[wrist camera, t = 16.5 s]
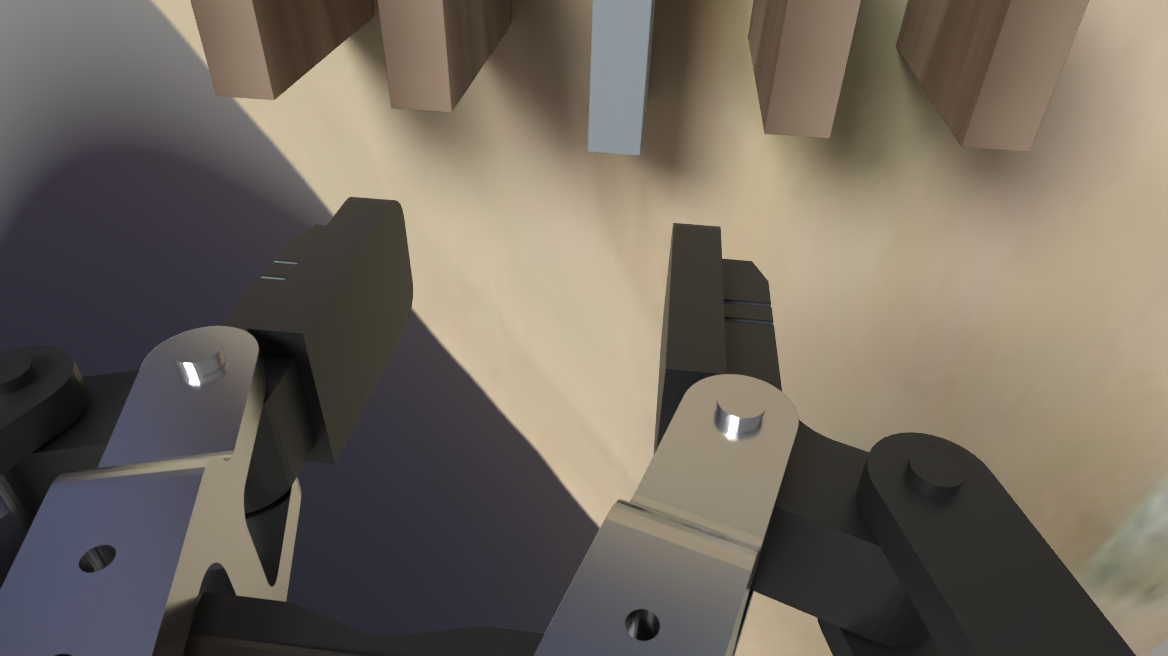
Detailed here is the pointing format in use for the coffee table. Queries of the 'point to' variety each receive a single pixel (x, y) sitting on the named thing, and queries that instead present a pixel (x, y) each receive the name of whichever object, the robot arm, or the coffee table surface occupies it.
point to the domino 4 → (990, 63)
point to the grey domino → (619, 74)
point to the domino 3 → (800, 62)
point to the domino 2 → (438, 48)
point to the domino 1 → (271, 40)
